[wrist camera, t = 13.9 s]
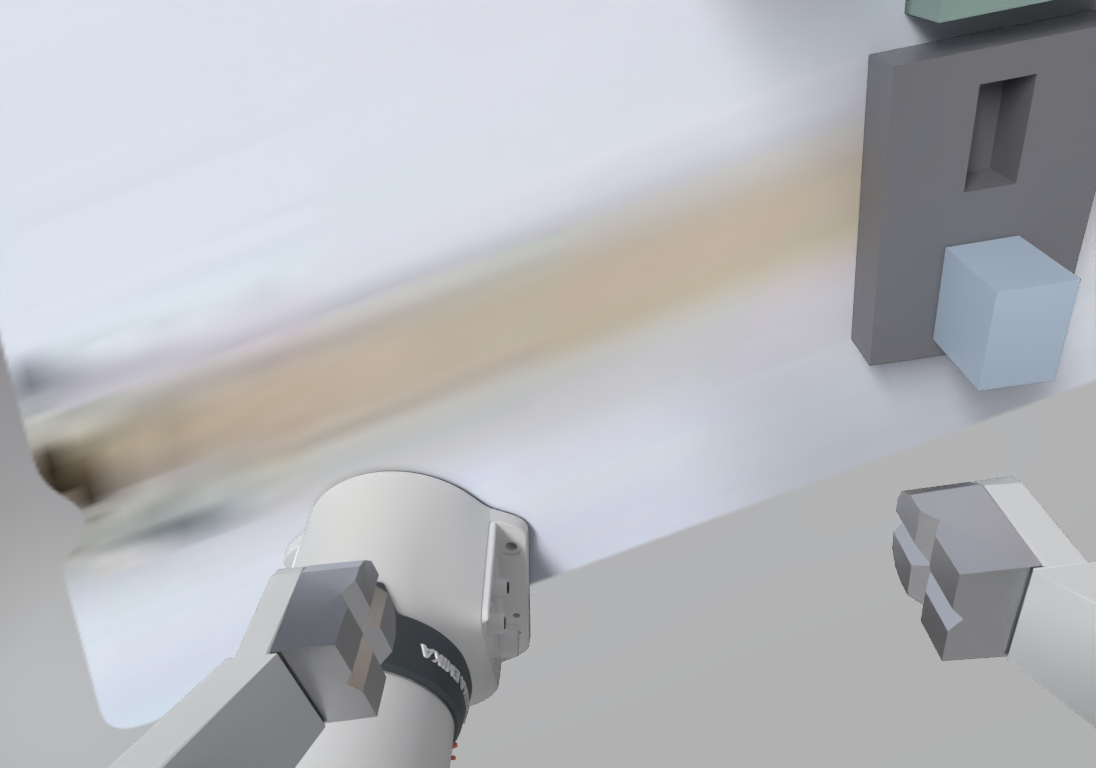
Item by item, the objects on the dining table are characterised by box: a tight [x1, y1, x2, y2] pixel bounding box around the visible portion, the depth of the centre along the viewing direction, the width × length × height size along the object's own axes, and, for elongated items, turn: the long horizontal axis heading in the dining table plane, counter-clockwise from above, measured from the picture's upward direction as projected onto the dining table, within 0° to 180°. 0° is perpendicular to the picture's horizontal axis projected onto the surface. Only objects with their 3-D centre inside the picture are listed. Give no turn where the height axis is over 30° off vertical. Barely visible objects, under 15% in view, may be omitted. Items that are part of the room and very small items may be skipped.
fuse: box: [933, 236, 1081, 391], centre depth 35 cm, size 6×4×8 cm, turn 11°
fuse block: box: [851, 10, 1096, 366], centre depth 36 cm, size 16×10×3 cm, turn 11°
